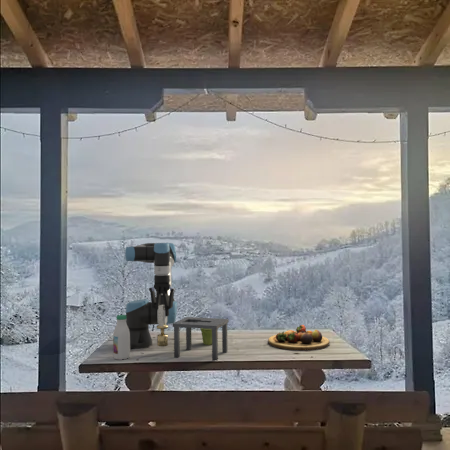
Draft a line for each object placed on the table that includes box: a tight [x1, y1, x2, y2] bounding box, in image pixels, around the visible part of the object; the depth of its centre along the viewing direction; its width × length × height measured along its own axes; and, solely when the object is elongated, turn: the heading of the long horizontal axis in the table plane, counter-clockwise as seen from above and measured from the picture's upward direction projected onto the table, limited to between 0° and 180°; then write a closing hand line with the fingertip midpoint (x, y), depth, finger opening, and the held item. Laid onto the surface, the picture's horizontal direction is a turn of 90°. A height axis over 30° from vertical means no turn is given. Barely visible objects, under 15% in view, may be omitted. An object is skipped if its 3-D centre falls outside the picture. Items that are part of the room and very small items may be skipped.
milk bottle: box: [112, 314, 131, 361], centre depth 232 cm, size 8×8×20 cm
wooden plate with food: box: [267, 324, 330, 351], centre depth 258 cm, size 32×32×8 cm
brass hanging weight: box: [156, 305, 169, 348], centre depth 240 cm, size 6×6×20 cm
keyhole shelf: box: [172, 316, 230, 361], centre depth 237 cm, size 22×18×16 cm
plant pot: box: [199, 328, 212, 346], centre depth 259 cm, size 9×9×9 cm
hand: (162, 322), depth 240 cm, fingers closed on brass hanging weight, 2 cm apart
